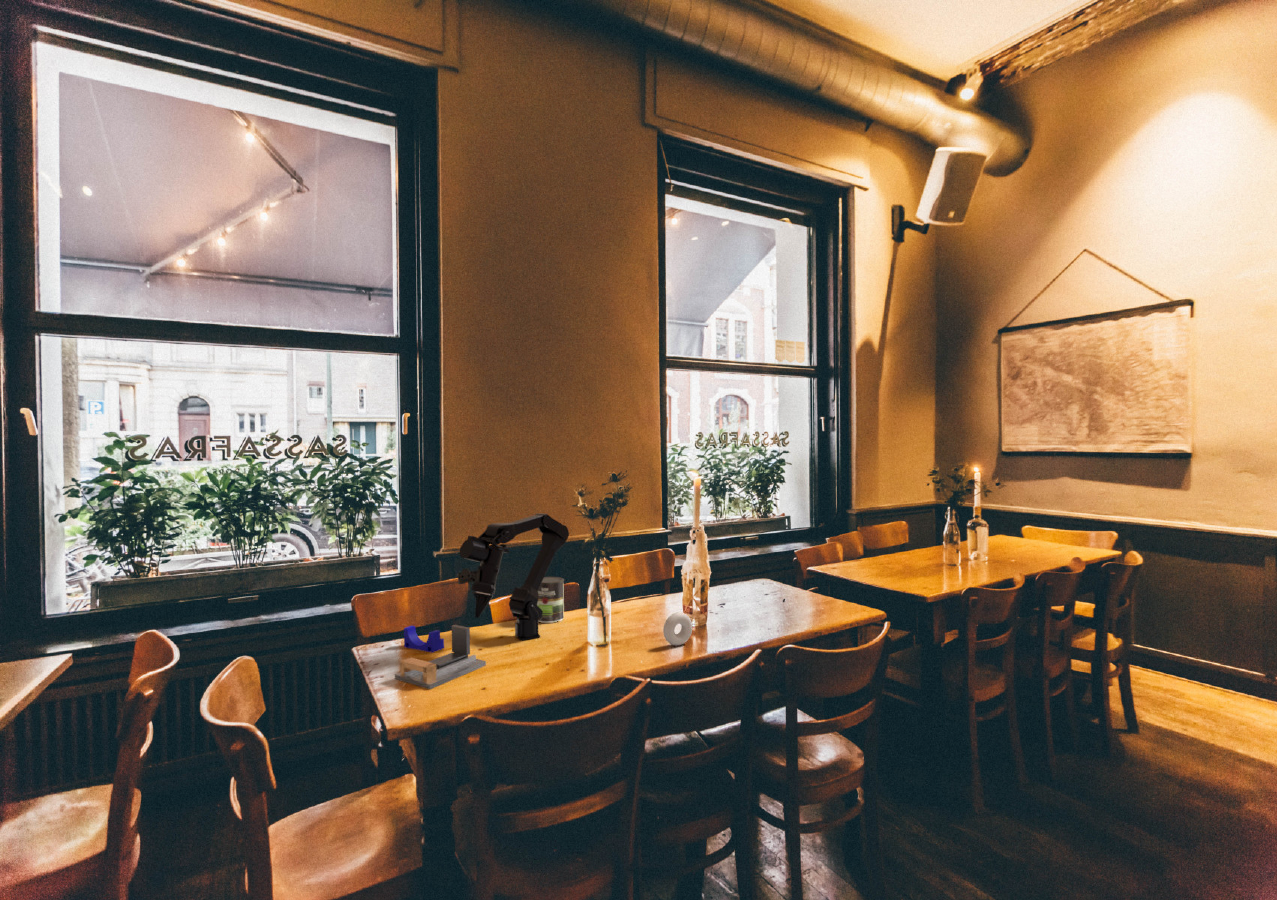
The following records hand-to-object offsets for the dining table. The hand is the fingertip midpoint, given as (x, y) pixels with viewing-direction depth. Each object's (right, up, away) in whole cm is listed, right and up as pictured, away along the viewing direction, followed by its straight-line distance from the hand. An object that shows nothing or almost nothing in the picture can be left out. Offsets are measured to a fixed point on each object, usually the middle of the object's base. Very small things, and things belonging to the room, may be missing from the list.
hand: (476, 617), depth 176 cm
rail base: (-6, -11, -13) cm, 19 cm away
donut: (+60, -10, +5) cm, 61 cm away
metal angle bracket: (-5, -10, -11) cm, 16 cm away
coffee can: (+16, -11, +35) cm, 40 cm away
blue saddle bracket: (-18, -12, +7) cm, 23 cm away
